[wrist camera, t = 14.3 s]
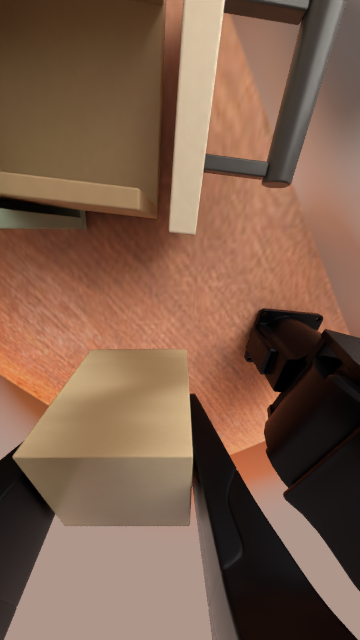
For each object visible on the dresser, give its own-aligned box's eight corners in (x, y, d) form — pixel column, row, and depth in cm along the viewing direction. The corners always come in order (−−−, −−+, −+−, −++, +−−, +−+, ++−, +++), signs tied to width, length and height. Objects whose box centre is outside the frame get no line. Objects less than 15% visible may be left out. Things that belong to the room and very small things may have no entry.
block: (187, 348, 8) (193, 456, 4) (186, 412, 10) (190, 526, 6) (90, 349, 8) (10, 457, 4) (108, 412, 10) (64, 526, 6)
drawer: (303, 4, 10) (566, -477, 3) (246, 239, 15) (298, 247, 8) (-58, -58, 9) (-743, -880, 2) (14, 213, 14) (-133, 198, 7)
